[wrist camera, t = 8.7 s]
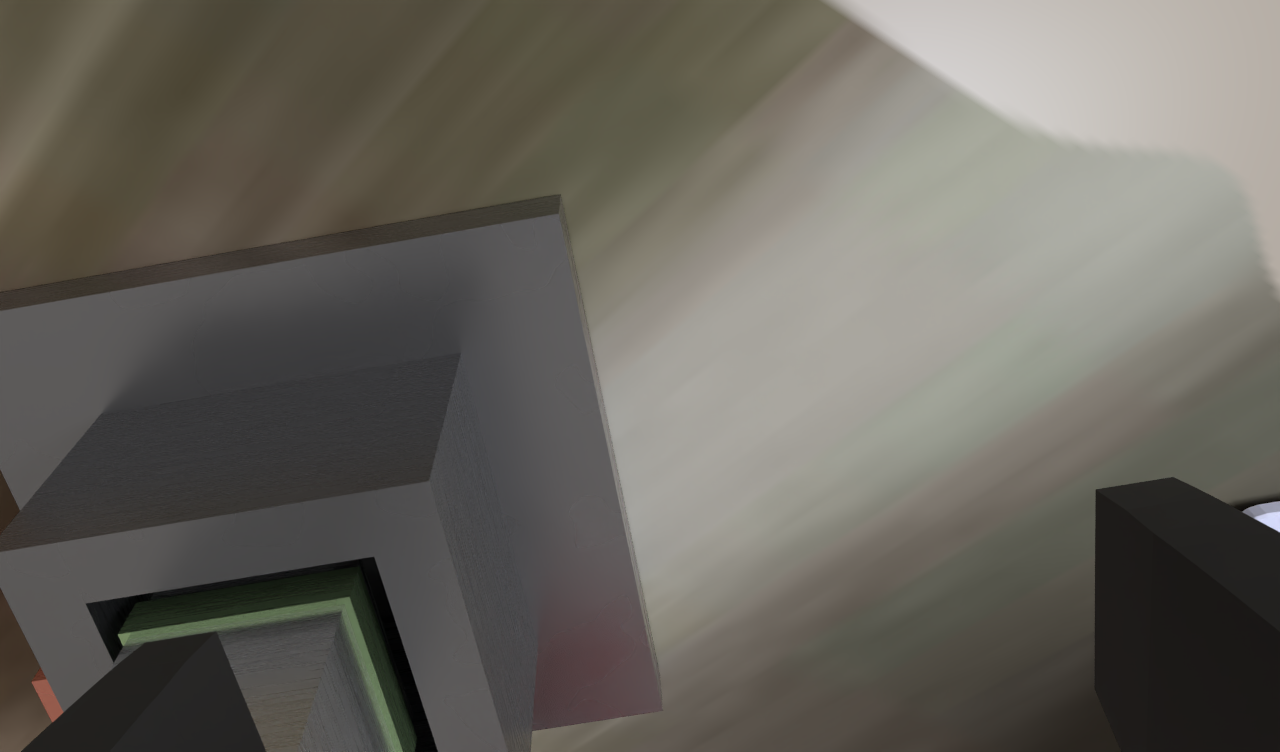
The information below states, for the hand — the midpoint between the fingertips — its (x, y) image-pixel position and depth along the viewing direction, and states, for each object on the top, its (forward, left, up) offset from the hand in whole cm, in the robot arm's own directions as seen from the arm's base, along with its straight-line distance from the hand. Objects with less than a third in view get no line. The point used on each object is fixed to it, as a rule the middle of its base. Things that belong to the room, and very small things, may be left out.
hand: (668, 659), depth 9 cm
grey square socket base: (+6, +4, -10) cm, 13 cm away
